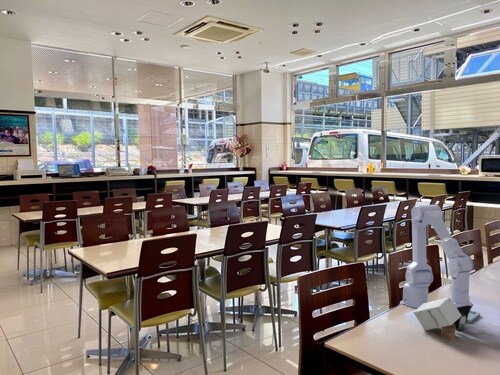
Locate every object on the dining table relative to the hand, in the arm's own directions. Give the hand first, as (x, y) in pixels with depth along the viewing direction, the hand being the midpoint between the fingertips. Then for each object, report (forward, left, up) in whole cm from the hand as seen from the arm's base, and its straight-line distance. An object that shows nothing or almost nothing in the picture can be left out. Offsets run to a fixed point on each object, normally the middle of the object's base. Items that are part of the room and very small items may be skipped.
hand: (458, 324), depth 139 cm
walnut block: (0, -9, -2) cm, 9 cm away
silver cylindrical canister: (0, 0, -1) cm, 1 cm away
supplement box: (-10, -8, +2) cm, 13 cm away
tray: (-4, +13, -1) cm, 14 cm away
